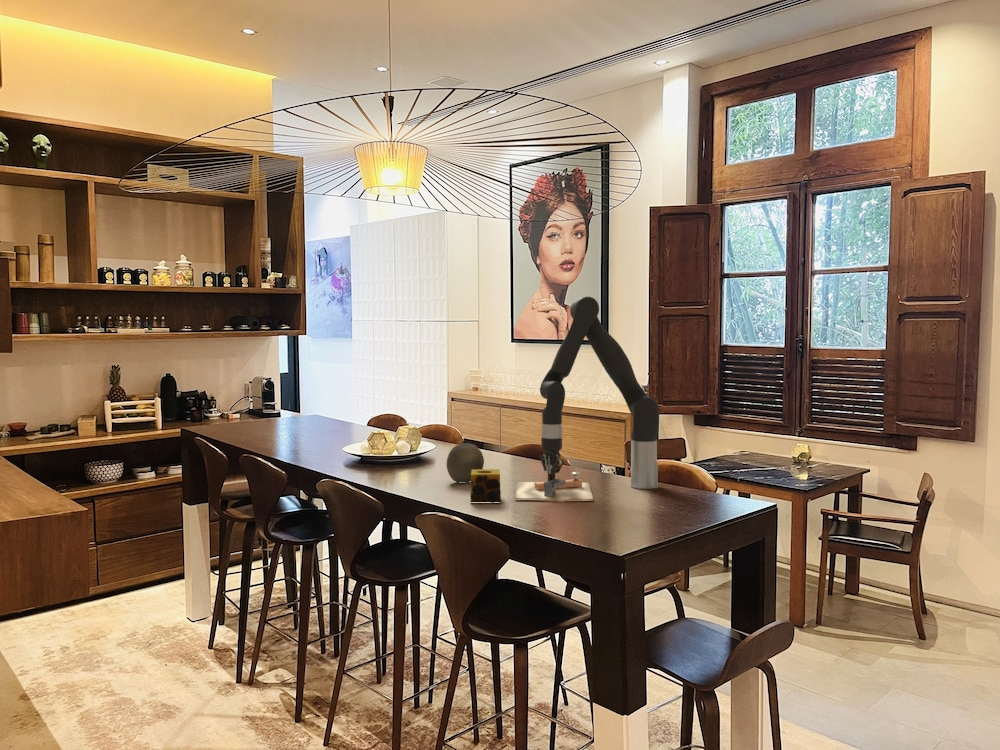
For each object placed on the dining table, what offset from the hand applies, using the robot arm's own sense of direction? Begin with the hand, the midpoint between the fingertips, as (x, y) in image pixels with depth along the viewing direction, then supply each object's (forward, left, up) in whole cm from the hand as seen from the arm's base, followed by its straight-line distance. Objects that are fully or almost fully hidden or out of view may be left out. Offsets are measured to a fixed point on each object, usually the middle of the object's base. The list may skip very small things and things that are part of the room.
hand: (551, 483), depth 275 cm
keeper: (-1, +13, -1) cm, 13 cm away
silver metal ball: (-9, 0, +1) cm, 9 cm away
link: (-3, +2, -1) cm, 4 cm away
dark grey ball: (+32, -10, -2) cm, 34 cm away
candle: (+22, +20, -2) cm, 30 cm away
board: (-1, +6, -2) cm, 6 cm away
